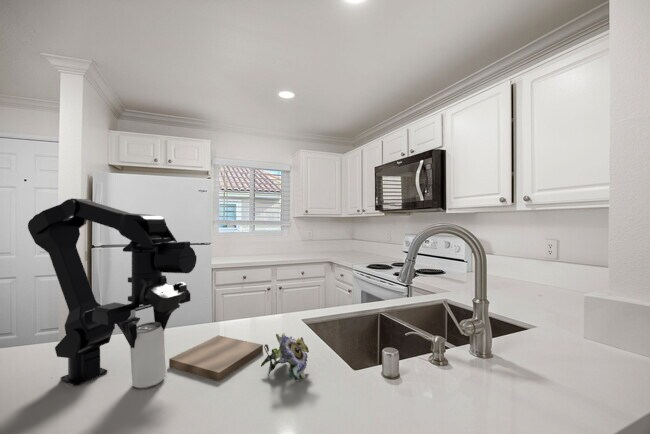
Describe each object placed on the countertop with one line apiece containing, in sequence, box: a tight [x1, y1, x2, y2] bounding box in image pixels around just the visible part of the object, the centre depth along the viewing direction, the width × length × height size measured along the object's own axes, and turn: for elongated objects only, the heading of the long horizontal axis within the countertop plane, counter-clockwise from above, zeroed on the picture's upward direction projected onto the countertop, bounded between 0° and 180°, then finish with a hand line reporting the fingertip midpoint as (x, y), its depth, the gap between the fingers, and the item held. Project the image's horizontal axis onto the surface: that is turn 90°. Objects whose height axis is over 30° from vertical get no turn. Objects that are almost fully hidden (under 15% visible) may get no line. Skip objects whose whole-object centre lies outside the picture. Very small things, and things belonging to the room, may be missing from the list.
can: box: [129, 321, 167, 389], centre depth 65 cm, size 6×6×12 cm
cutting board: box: [168, 334, 264, 382], centre depth 76 cm, size 16×16×2 cm
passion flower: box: [260, 332, 310, 382], centre depth 68 cm, size 11×11×12 cm
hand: (147, 343), depth 65 cm, fingers closed on can, 5 cm apart
